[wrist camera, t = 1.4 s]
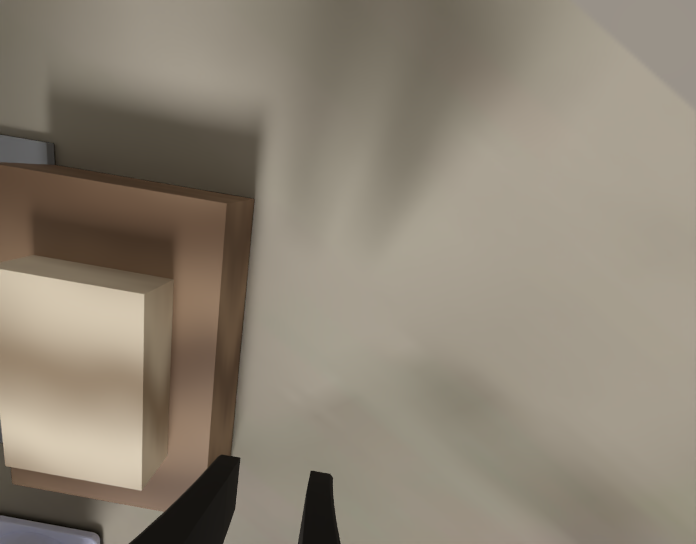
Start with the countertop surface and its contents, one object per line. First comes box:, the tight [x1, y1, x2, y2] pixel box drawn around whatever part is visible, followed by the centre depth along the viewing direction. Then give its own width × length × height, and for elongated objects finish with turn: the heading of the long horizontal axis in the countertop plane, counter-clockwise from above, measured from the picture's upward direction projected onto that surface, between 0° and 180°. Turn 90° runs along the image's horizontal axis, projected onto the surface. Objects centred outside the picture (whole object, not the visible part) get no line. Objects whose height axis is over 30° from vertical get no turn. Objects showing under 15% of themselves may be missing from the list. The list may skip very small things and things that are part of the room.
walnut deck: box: [0, 162, 254, 512], centre depth 18 cm, size 16×10×4 cm, turn 171°
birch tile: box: [0, 255, 174, 491], centre depth 15 cm, size 9×6×2 cm, turn 171°
